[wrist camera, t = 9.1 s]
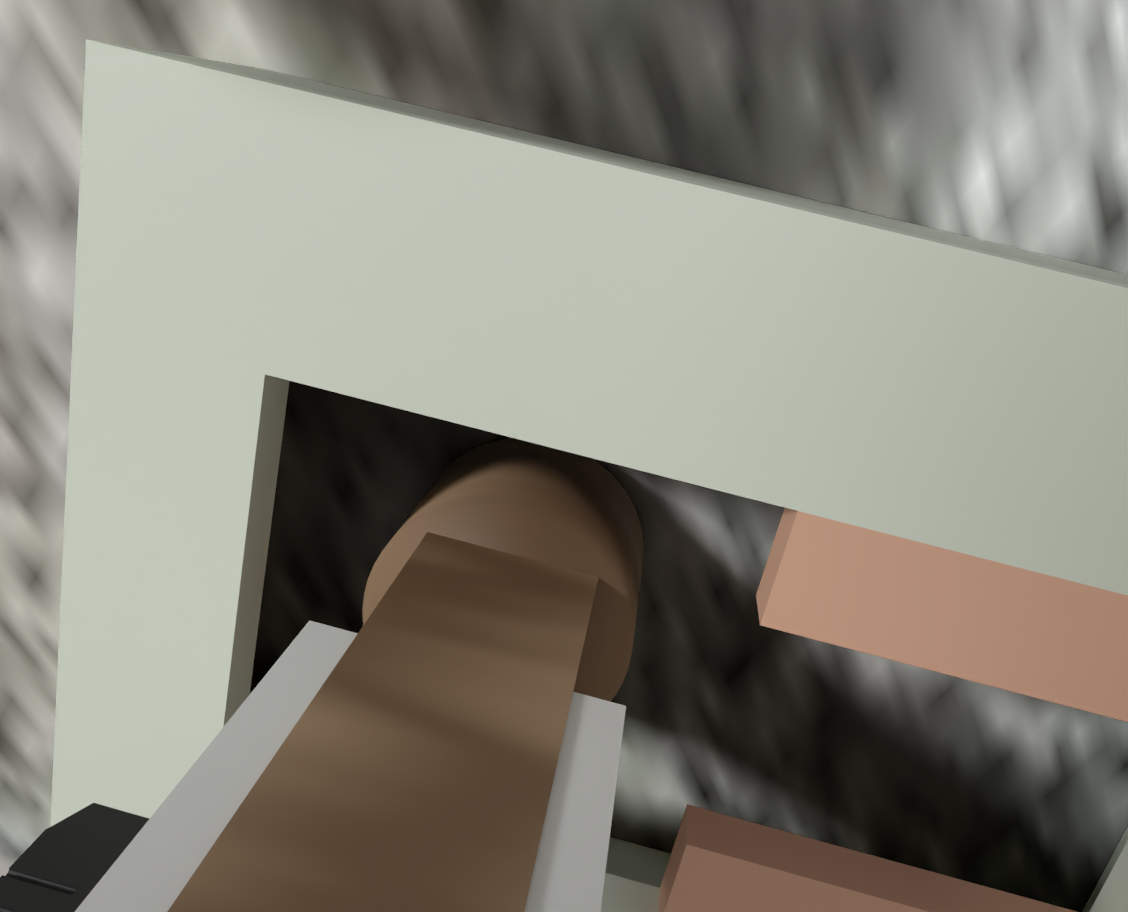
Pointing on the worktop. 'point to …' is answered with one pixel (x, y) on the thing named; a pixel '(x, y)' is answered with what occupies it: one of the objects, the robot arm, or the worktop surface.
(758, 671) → the worktop surface
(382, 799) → the bolt peg
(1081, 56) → the worktop surface
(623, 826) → the worktop surface
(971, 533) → the keyhole box
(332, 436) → the worktop surface
